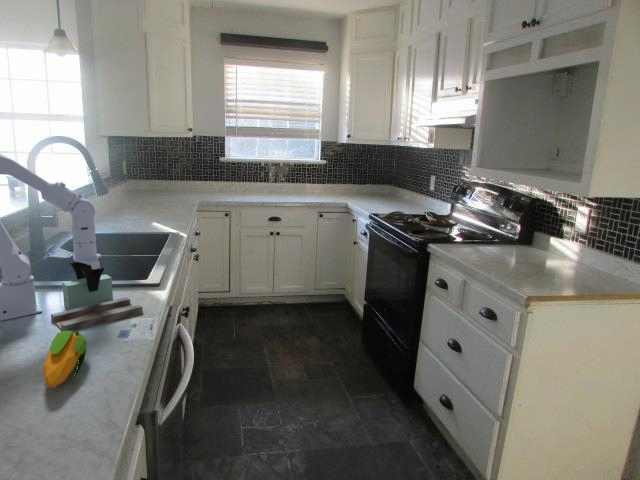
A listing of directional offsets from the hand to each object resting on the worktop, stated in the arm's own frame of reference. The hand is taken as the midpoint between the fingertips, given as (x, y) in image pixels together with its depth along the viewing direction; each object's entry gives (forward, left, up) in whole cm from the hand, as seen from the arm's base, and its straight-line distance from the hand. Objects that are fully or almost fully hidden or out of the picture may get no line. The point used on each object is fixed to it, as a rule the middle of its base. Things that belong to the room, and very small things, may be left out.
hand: (88, 287), depth 133 cm
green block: (0, 0, -5) cm, 5 cm away
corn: (-19, -38, -5) cm, 42 cm away
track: (-2, -12, -5) cm, 13 cm away
